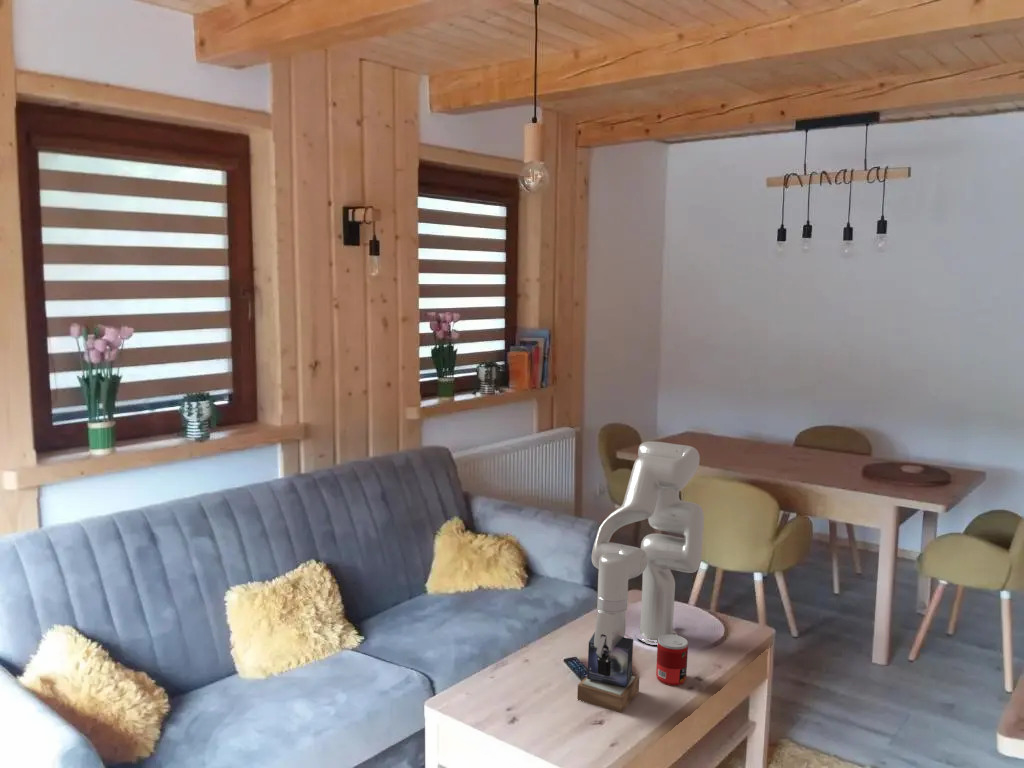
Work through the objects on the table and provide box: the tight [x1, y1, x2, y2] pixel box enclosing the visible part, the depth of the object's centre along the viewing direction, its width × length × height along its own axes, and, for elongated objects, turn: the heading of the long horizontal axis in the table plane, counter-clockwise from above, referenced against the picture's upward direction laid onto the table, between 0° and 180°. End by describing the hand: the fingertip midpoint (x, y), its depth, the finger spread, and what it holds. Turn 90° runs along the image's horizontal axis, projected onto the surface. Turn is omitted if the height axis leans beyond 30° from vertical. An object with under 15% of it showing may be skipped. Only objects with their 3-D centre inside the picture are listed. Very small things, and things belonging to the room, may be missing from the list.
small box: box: [586, 631, 634, 687], centre depth 215 cm, size 11×6×10 cm, turn 70°
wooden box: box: [576, 675, 640, 714], centre depth 216 cm, size 12×12×4 cm
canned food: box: [655, 634, 689, 687], centre depth 225 cm, size 8×8×11 cm
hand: (609, 668), depth 216 cm, fingers closed on small box, 6 cm apart
